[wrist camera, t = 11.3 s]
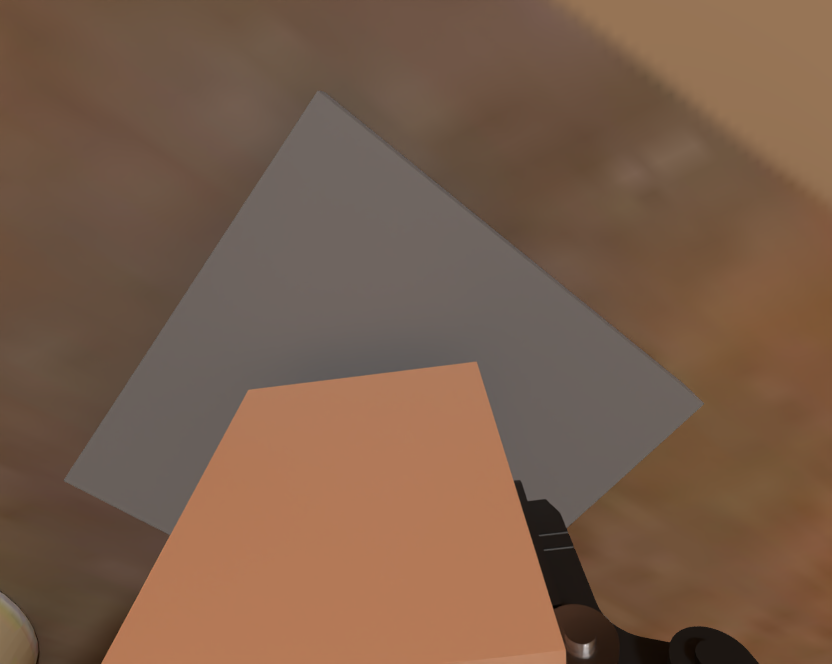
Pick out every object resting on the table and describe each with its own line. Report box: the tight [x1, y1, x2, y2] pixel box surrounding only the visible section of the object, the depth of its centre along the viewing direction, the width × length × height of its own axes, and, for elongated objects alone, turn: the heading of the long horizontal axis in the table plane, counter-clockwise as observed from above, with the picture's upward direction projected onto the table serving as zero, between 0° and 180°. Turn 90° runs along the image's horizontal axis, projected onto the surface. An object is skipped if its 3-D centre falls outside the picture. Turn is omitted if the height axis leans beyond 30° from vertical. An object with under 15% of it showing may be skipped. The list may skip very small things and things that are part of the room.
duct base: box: [64, 91, 704, 535], centre depth 14 cm, size 14×14×8 cm
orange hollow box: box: [101, 362, 566, 664], centre depth 12 cm, size 6×10×8 cm, turn 7°
